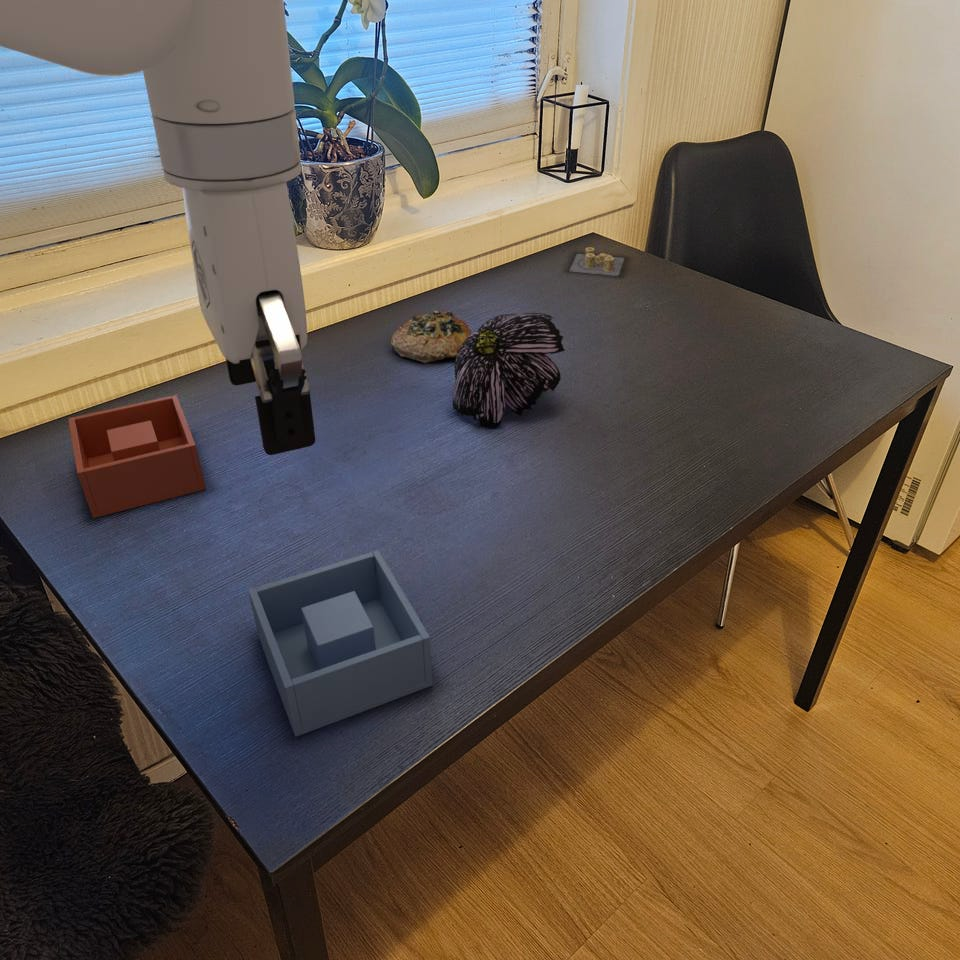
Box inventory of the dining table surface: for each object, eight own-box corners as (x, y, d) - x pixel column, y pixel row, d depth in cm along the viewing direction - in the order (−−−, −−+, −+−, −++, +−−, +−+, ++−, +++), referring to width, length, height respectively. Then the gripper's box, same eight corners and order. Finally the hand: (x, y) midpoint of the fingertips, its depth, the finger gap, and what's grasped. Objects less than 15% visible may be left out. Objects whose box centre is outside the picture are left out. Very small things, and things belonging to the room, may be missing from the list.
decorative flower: (418, 313, 99) (536, 270, 99) (442, 376, 109) (550, 337, 109) (447, 400, 91) (577, 352, 91) (471, 460, 100) (588, 417, 100)
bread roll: (444, 318, 120) (445, 288, 117) (488, 357, 114) (490, 326, 110) (377, 341, 115) (375, 310, 112) (419, 383, 109) (419, 352, 105)
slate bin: (295, 737, 62) (284, 688, 59) (258, 637, 71) (247, 589, 67) (432, 685, 66) (430, 636, 63) (383, 597, 74) (378, 549, 71)
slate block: (324, 685, 66) (317, 645, 63) (307, 646, 69) (300, 607, 66) (377, 665, 67) (373, 626, 65) (359, 629, 71) (354, 590, 68)
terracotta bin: (93, 518, 84) (77, 473, 80) (82, 461, 92) (68, 418, 88) (206, 489, 88) (195, 444, 84) (187, 436, 96) (176, 394, 92)
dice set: (612, 272, 135) (613, 260, 134) (580, 269, 136) (581, 257, 135) (616, 260, 139) (617, 249, 138) (585, 257, 140) (586, 246, 139)
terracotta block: (122, 487, 87) (111, 451, 84) (117, 465, 90) (106, 429, 87) (167, 476, 88) (157, 440, 86) (160, 454, 92) (150, 420, 89)
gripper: (138, 118, 51) (190, 368, 61) (188, 197, 38) (244, 495, 48) (259, 109, 54) (290, 349, 64) (344, 179, 41) (366, 465, 51)
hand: (270, 412), depth 56 cm, fingers open, 9 cm apart
